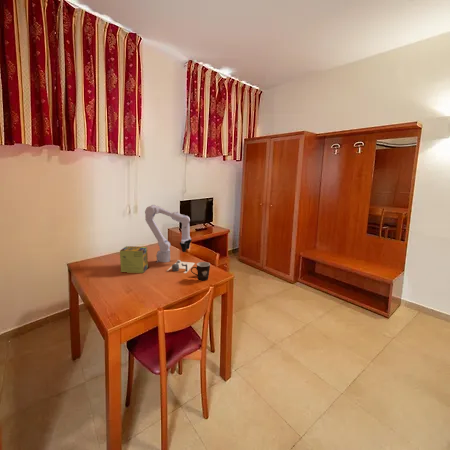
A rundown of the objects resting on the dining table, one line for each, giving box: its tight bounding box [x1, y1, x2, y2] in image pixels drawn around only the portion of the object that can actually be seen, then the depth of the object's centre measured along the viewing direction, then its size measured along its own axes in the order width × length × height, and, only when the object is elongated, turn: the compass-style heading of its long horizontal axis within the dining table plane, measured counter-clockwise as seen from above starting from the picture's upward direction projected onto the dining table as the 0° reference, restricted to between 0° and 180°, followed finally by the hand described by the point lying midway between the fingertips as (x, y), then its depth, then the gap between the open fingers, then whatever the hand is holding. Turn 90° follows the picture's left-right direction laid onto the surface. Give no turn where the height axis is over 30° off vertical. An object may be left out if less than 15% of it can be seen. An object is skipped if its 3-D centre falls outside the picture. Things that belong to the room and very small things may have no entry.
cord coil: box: [171, 263, 180, 272], centre depth 173 cm, size 5×5×5 cm
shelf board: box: [166, 261, 196, 274], centre depth 179 cm, size 14×20×2 cm
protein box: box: [119, 245, 149, 274], centre depth 174 cm, size 10×15×16 cm
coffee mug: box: [190, 261, 211, 282], centre depth 163 cm, size 12×9×10 cm
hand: (185, 250), depth 189 cm, fingers open, 7 cm apart
